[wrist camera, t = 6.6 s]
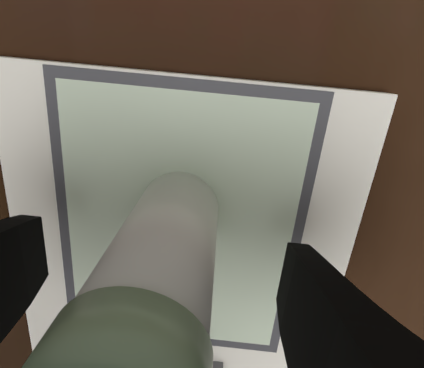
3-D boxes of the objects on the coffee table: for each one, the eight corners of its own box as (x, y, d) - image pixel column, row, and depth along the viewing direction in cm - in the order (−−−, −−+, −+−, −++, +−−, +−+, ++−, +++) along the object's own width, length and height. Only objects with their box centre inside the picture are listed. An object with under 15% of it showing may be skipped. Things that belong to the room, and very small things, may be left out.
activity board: (49, 393, 18) (21, 445, 16) (-2, 55, 11) (-64, 54, 9) (293, 421, 18) (304, 478, 15) (386, 92, 11) (430, 101, 9)
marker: (139, 239, 13) (14, 486, 5) (139, 165, 12) (-21, 349, 4) (217, 247, 13) (200, 507, 5) (224, 173, 12) (218, 376, 4)
